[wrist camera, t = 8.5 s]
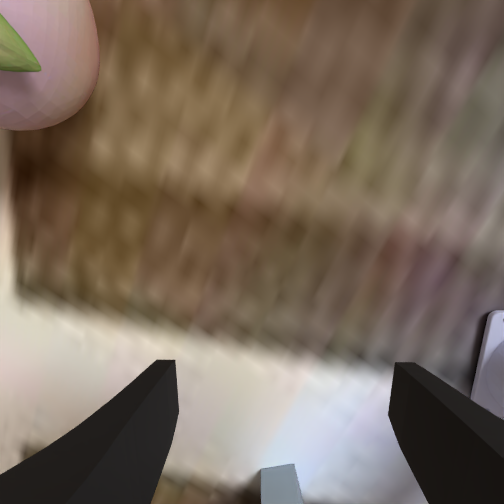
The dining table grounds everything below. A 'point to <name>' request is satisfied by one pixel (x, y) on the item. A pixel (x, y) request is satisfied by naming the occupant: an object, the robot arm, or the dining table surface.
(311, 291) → the dining table surface
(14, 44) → the decorative fruit
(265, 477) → the crosspiece
